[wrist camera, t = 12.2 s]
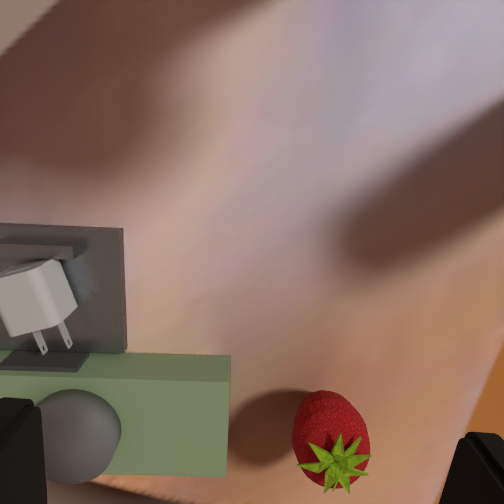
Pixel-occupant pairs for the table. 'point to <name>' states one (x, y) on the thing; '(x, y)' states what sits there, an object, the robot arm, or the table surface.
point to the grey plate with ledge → (74, 283)
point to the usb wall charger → (36, 299)
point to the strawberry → (330, 440)
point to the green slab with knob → (125, 411)
